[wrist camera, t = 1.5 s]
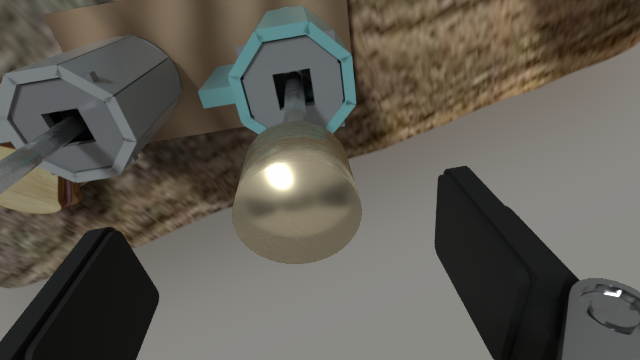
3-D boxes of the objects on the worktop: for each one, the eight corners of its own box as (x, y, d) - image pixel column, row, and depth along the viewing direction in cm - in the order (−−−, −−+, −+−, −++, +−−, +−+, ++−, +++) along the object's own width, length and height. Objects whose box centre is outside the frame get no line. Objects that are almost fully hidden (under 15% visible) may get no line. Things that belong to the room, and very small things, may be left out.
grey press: (162, 28, 29) (95, 57, 19) (193, 110, 34) (151, 170, 24) (49, 48, 30) (-77, 87, 19) (94, 127, 34) (9, 194, 24)
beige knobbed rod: (111, 67, 23) (-164, 215, 9) (145, 137, 26) (-24, 330, 12) (35, 81, 23) (-352, 247, 9) (78, 149, 26) (-168, 353, 12)
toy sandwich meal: (109, 107, 34) (85, 125, 30) (97, 205, 41) (76, 230, 37) (-36, 58, 31) (-84, 71, 27) (-25, 173, 37) (-63, 197, 33)
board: (341, -39, 29) (343, -39, 28) (354, 103, 36) (356, 107, 35) (51, 12, 29) (42, 14, 28) (120, 143, 36) (115, 148, 35)
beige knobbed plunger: (325, 30, 23) (379, 123, 9) (335, 105, 26) (386, 264, 12) (247, 44, 23) (180, 157, 9) (266, 117, 26) (237, 288, 12)
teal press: (328, -1, 29) (348, 13, 19) (338, 85, 33) (359, 135, 23) (213, 19, 29) (172, 44, 19) (237, 103, 34) (214, 160, 23)
